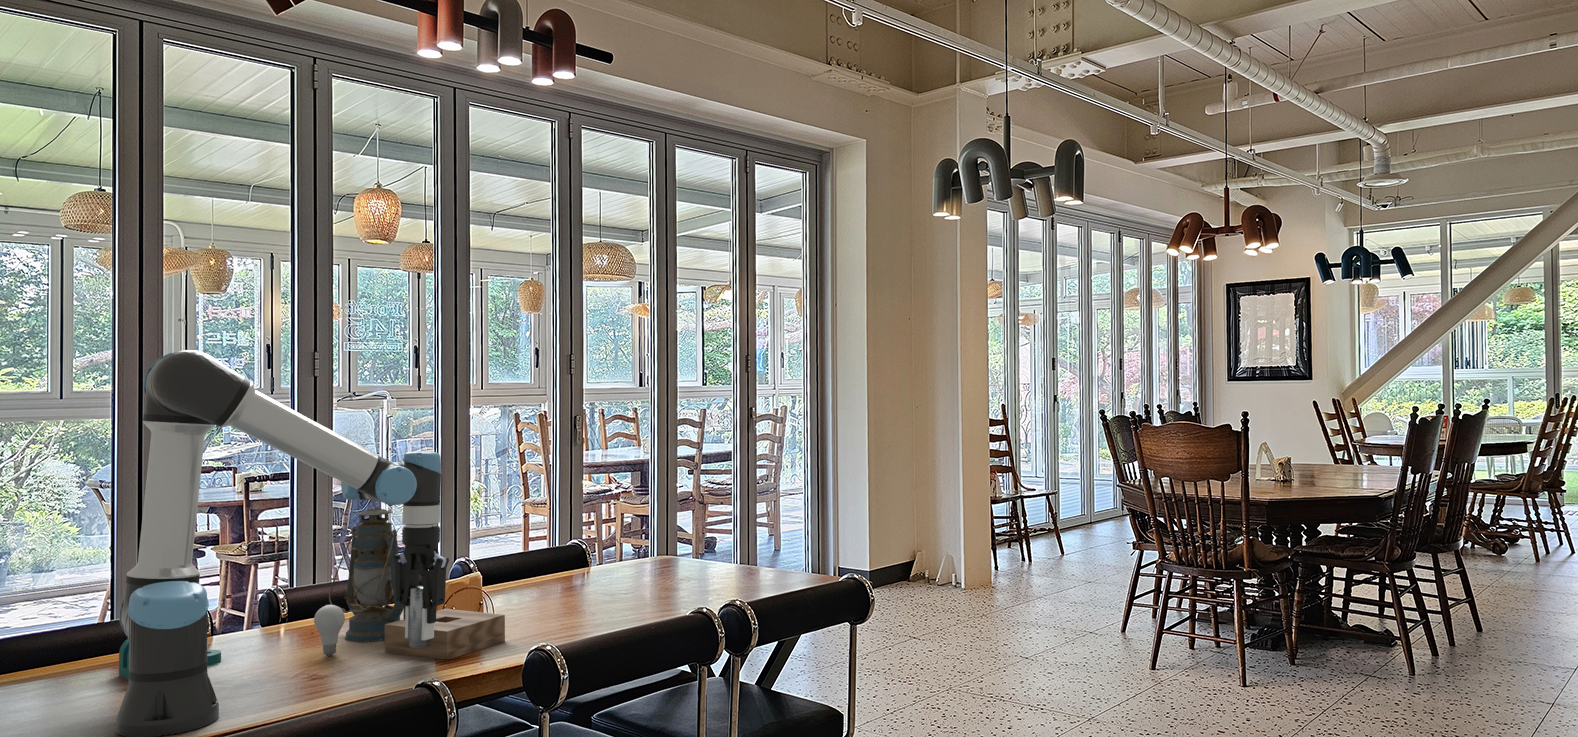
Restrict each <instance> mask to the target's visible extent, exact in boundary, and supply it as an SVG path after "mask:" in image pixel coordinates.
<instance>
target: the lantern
mask: <svg viewBox="0 0 1578 737" xmlns="http://www.w3.org/2000/svg"><path fill="white" fill-rule="evenodd" d="M389 514H393V511H391V510H387V509H385V508H383V509H382V508H381V509H380V506H376V507H373V508H371V509H366V510H363V511H361V512H357V513H355V515H357V516H360V524H356V525H355V526H353V527H351V528H352V529H351V532H352V533H351V536H350V538H349V540H348V543H347V545H346V547H345V550H344V552H343V554H342V557H341V559H340V561H339V564H338V567H337V569H336V572H335V575H334V577H333V580H332V583H331V586H330V590H329V594H328V600H329V603H330V604H329V605H333V603H332V600H331V595H332V592H333V591H332V590H333V587H334V585H335V581H336V579H337V575H338V573H339V571H340V568H341V565H342V562H343V560H344V557H345V556H346V552H347V550H348V548H349V545H351V550H350V557H349V558H350V561H349V568H348V579H347V587H346V594H345V595H344V600H346V603H347V606H348V608H349V610H347V611H346V609H345V608H344V607H343V608H342V607H340V608H341V609H342V611H343V612H344V614H348V613H350V612H351V613H353V615H352V616H351V617H349V618H348V624H349V625H348V630H346V632H345V640H346V641H350V642H359V643H361V642H365V643H366V642H376V641H377V642H378V641H385V624H388V623H392V622H396V621H400V620H401V615H402V613H403V612H404V605H403V604H402V603H401V602H397V601H396V575H395V563H394V559H393V556H394V555H397V554H400V553H399V546H398V545H399V543H398V531H397V529H393V523H392V522H388V521H389V520H390V519H389ZM383 515H384V517H380V516H383ZM365 516H367V517H368V518H365ZM350 543H351V544H350ZM402 595H403V594H402ZM392 603H393V604H394V605H393V606H392V605H390V604H392Z"/></svg>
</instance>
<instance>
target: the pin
mask: <svg viewBox="0 0 1578 737" xmlns="http://www.w3.org/2000/svg"><path fill="white" fill-rule="evenodd" d="M423 606H425V600H424V592H423V585H418V586H416V587H411V588H410V627H409V647H413V648H420V647H426V646H429V642H430V639H427V640H422V608H423Z"/></svg>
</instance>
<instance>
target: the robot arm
mask: <svg viewBox="0 0 1578 737" xmlns="http://www.w3.org/2000/svg"><path fill="white" fill-rule="evenodd" d="M143 390H144V391H143V393H144V395H145V398H144V406H143V407H144V409H143V417H142V423H143V425H145V427H147V428H148V429H149V431H150V444H149V452H148V462H147V469H146V470H147V472H146V480H145V491H144V499H143V500H144V501H143V502H144V503H143V510H142V511H143V512H142V518H141V519H142V520H141V528H140V529H141V530H140V536H139V537H140V538H139V548H138V558H137V559H138V560H137V563H136V565H135V566H134V567H133V568H131V569H130V570H128V572H126V579H125V588H124V597H123V600H122V601H121V605H120V607H119V614H118V615H119V616H118V617H119V618H118V619H119V624H120V627H121V629H122V631H123V632H124V634H125V636H126V637H127V639H128V638H129V680H128V684H127V687H126V691H125V694H124V697H123V698H122V699H123V700H122V703H121V705H120V709H119V711H118V713H117V716H116V725H115V726H116V733H117V734H118V735H120V736H123V737H162V736H161V735H164V736H169V735H168V734H170V735H174V734H173V733H176V734H181V733H185V731H186V732H190V731H193V730H196V729H200V728H203V727H204V726H205V727H206V726H207V725H210V724H212V723H214V722H215V721H216V720H218V719H219V715H220V712H219V711H220V705H219V700H218V698H217V696H216V693H215V690H214V687H213V684H212V681H211V679H210V677H209V674H208V666H207V650H208V610H209V607H210V605H209V603H210V602H209V599H208V592H207V590H206V588H205V587H204V586H203V585H202V584H200V578H201V577H200V576H201V571H199V569H198V568H196V567H195V566H194V564H193V555H194V546H195V545H194V544H195V536H196V535H195V534H196V524H197V514H198V507H199V505H198V504H199V494H200V488H201V487H200V486H201V476H202V468H203V467H202V466H203V455H204V447H205V438H206V435H207V433H208V432H210V431H211V430H213V429H214V428H215V426H217V427H219V428H226V427H232V428H234V429H236V430H238V431H240V432H242V433H243V434H246V435H248V436H250V437H252V438H254V439H256V440H258V441H260V442H262V443H264V444H266V445H267V446H270V447H271V448H274V449H276V450H278V451H280V452H282V453H284V454H286V455H288V456H290V457H292V458H293V459H296V460H298V461H299V462H302V463H303V464H306V465H308V466H309V467H311V468H313V469H316V470H317V471H320V472H322V473H323V474H325V475H327V476H329V477H331V478H333V479H336V480H338V481H339V482H340V488H341V494H342V497H343V498H344V499H345V500H347V501H362V500H363V501H364V500H371V501H375V502H379V503H381V504H382V503H383V504H384V505H386V506H400V505H402V524H403V525H404V526H403V528H402V529H401V530H402V532H401V535H402V536H401V537H402V538H401V539H402V540H401V544H402V545H403V546H404V548H403V551H402V552H400V553H399V554H397V555H394V556H393V559H394V563H395V575H396V601H397V602H401V603H402V604H403V605H404V608H403V620H404V621H405V638H409V627H410V588H411V587H416V586H419V579H420V576H421V582H422V586H423V592H424V600H425V606H423V608H422V640H427V639H431V638H434V623H435V622H436V611H437V607H438V606H441V605H444V604H445V603H446V602H445V601H446V587H447V586H446V584H447V582H446V581H447V567H448V564H449V561H450V558H449V557H448V556H446V557H443V556H442V555H440V552H439V549H438V545H439V543H440V542H441V527H440V525H438V524H440V523H441V494H442V493H441V492H442V475H443V472H442V458H441V455H440V454H439V453H438V452H436V451H407V452H405V453H404V454H403V459H402V460H401V461H400V460H399V461H390V460H388V459H386V458H384V457H382V456H380V455H378V454H377V453H375V452H373V451H371V450H369V449H367V448H365V447H363V445H360V444H358V443H357V442H354V441H352V440H350V439H349V438H347V437H345V436H343V435H341V434H340V433H338V432H336V431H333V430H332V429H330V428H328V427H326V426H324V425H323V424H321V423H318V422H317V421H315V420H313V419H312V418H309V417H308V416H306V415H303V414H302V413H300V412H298V411H297V410H294V409H292V408H290V407H289V406H287V405H285V404H283V403H281V402H279V401H277V400H275V399H274V398H272V397H269V396H267V395H266V394H264V393H262V392H260V391H258V390H257V389H255V384H254V382H253V381H252V380H250V379H248V378H247V377H244V375H243V376H242V375H241V374H240V373H237V372H236V371H234V370H233V369H231V368H229V367H228V366H226V364H224V363H223V362H221V361H219V360H218V359H216V358H215V357H214V356H212V355H211V354H208V353H206V352H203V351H200V350H194V349H185V350H179V351H175V352H169V353H167V354H165V355H162V356H160V357H159V358H157V359H156V360H155V361H154V362H153V363H152V364H151V365H150V366H149V368H148V369H147V371H146V372H145V375H144V378H143ZM402 594H403V595H402ZM180 732H181V733H180ZM166 734H167V735H166Z"/></svg>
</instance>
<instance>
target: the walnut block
mask: <svg viewBox="0 0 1578 737" xmlns="http://www.w3.org/2000/svg"><path fill="white" fill-rule="evenodd" d="M504 642H506V614H501V613H491V612H490V613H489V612H483V611H482V612H481V611H473V610H472V611H471V610H459V609H451V608H443V609H438V610H436V622H435V623H434V638H431V639H430V642H429V646H426V647H420V648H413V647H409V638H405V621H404V619H400V621H396V622H392V623H388V624H385V640H384V653H390V654H396V655H397V654H399V655H407V656H413V657H421V658H428V659H435V658H436V659H437V660H443V659H449V660H452V659H454V658H457V657H460V656H464V655H466V654H470V653H473V652H476V651H479V650H482V649H486V648H488V647H489V648H490V647H492V646H495V645H498V644H501V643H504ZM451 658H452V659H451Z"/></svg>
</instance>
